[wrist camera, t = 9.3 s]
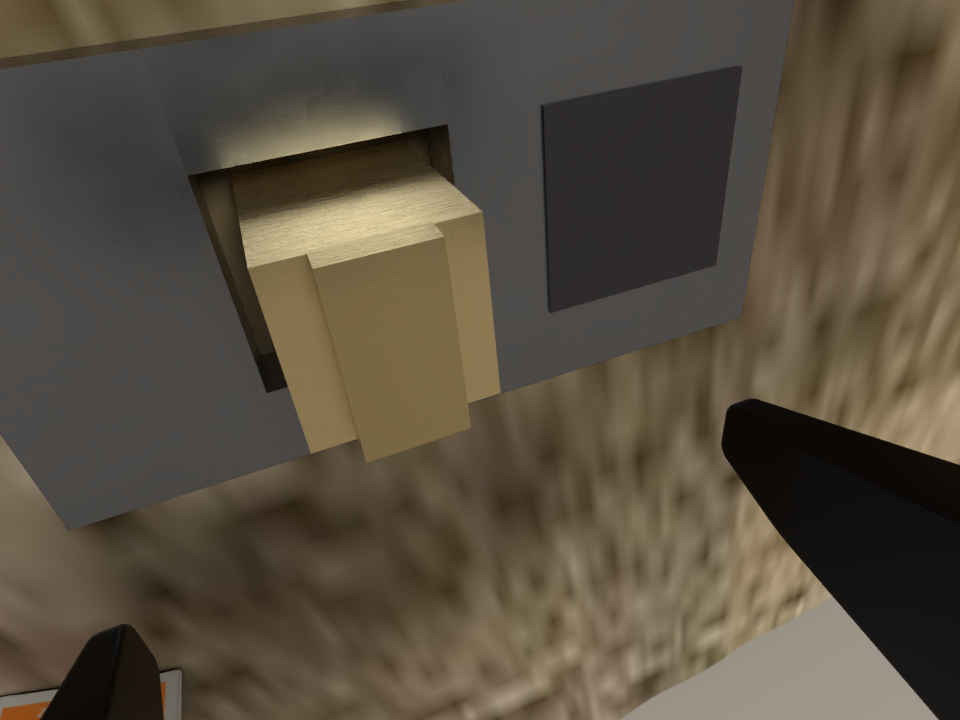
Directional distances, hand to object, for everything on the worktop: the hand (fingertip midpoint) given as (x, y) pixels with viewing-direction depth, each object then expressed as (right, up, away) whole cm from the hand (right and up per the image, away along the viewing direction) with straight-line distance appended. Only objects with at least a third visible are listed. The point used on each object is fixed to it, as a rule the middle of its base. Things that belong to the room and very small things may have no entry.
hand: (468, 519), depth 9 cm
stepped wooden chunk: (-4, +6, +9) cm, 11 cm away
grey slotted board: (-2, +6, +9) cm, 11 cm away
